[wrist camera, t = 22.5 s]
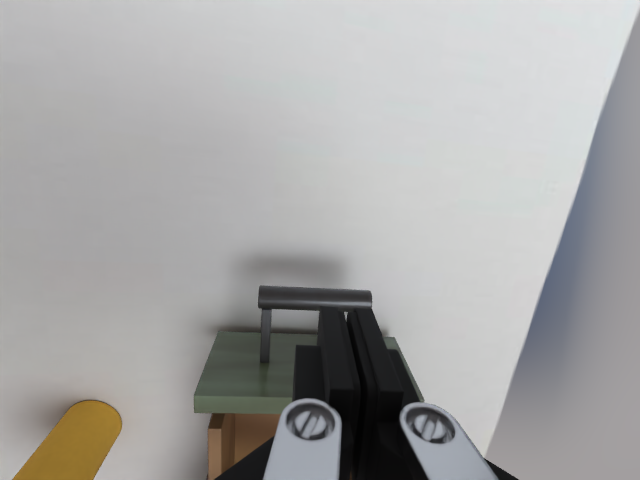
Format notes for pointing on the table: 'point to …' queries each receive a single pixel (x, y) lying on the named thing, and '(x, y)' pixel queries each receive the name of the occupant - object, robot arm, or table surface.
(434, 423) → the robot arm
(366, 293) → the drawer
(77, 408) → the roller
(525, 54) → the table surface
